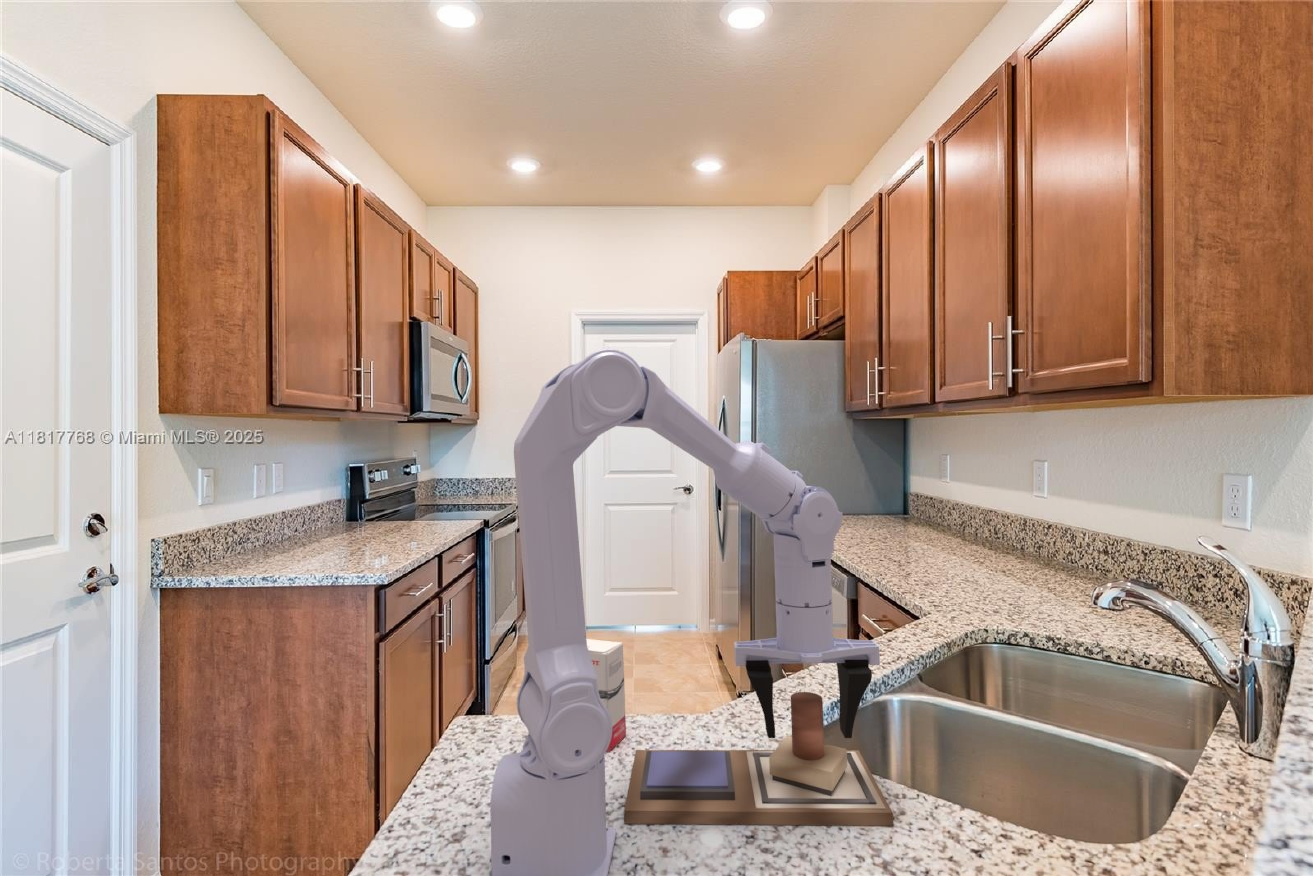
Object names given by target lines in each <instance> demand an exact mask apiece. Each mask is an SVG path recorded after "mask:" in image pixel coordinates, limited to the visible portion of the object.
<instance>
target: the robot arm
mask: <svg viewBox="0 0 1313 876" xmlns="http://www.w3.org/2000/svg"><path fill="white" fill-rule="evenodd" d="M615 427H629V428H642V429H643V428H645V429H650V430H651V431H653V432H655V434H658V435H659V436H661V437H662V438H663V439H666V441H668V442H670V443H671V444H673V445H675V446H677V447H678V448H679V449H681V450H682V451H684V452H686V453H687V454H689V455H690V456H691V457H693V458H695V459H697V461H699V462H701V463H703V464H704V465H705V466H708V467H709V468H710V469H712V471H713V474H714V481H715V485H716V487H717V488H718V490H720V491H722V492H723V493H725V494H726V495H727V496H729V497H731V498H732V499H733V500H734V501H736V502H737V503H738V504H740V505H741V506H743V507H745V508H746V509H747V510H749V511H750V512H751V513H753V514H754V515H756V517H758V518H760V519H761V523H762V525H763V527H764V529H765V530H766V532H767V533H769V534H773V558H774V559H773V561H774V562H773V563H774V584H775V587H774V589H775V594H774V595H775V618H776V619H775V620H776V621H775V623H776V624H775V625H776V637H773V638H771V637H770V638H764V639H755V640H745V641H734V642H733V647H734V648H733V650H734V651H733V653H734V655H733V657H734V663H735V666H736V667H745V669H746V674H747V676H748V679H749V681H750V683H751V686H752V687H753V689H754V692H755V695H756V697H757V699H758V702H759V704H760V707H761V710H762V713H763V717H764V723H765V732H766V734H767V735H766V736H767V738H768V739H776V726H775V718H774V717H775V715H774V704H773V703H774V699H773V696H774V694H773V692H774V677H773V674H772V667H771V666H770V664H771V665H773V664H836V668H837V669H836V670H837V678H838V686H839V687H838V689H839V690H838V691H839V709H838V710H839V711H838V712H839V713H838V715H839V716H838V717H839V719H838V720H839V728H840V729H839V730H840V732H841V733H842V735H843V737H844V739H852V737H853V730H854V724H855V721H856V716H857V713H858V710H859V706H860V704H861V701H862V699H863V696H865V692H866V691H867V689H868V687H869V686H870V683H871V682H872V677H873V671H872V669H871V668H870V667H869V665H870V666H880V664H881V663H880V662H881V661H880V660H881V659H880V646H879V645H878V643H876V641H874V640H873V639H872V640H864V639H863V640H862V639H851V638H850V639H849V638H839V637H837V638H836V637H834V619H833V618H834V616H833V615H834V613H833V586H832V561H831V559H832V556H833V554H834V553H835V546H834V545H835V538H836V536H837V535H838V533H839V531H840V529H841V526H842V523H843V512H842V511H839V507H838V504H837V502H836V500H835V499H834V497H833V496H832V494H831V493H830V492H829V491H828V490H826V489H825V488H823V487H820V486H815V485H806V482H805V481H804V480H803V477H804V475H803V474H802V473H801V472H799V471H798V470H790V469H788V468H787V467H786V466H785V465H783V463H781V462H780V461H778V459H776V458H774V457H773V456H772V455H770V453H771V451H772V450H771V448H770V447H769V446H768V445H767V444H765V443H764V442H753V441H749V440H748V441H747V440H744V441H741V442H737V443H735V442H733V441H732V440H731V439H730V438H728V437H727V436H726V434H724V433H723V432H722V431H720V429H718V428H717V427H715V426H714V424H712V422H709V420H708V419H706V418H705V417H704V416H702V415H701V414H700V413H699V412H698V411H696V410H695V409H694V408H693V407H692V406H690V405H689V404H688V403H687V402H686V401H685V400H683V399H682V398H681V397H680V396H678V395H677V394H676V393H675V392H673V390H671V388H669V387H668V386H667V385H666V383H664V381H662V379H661V378H660V377H659V376H658V375H657V373H656V372H655V371H653V370H651V369H650V368H648V367H646V366H644V365H642V366H640V365H639V364H638V362H637V361H636V360H635V359H634V358H633V357H632V356H631V355H629V354H628V353H626V352H624V351H621V350H618V349H612V348H605V349H603V348H602V349H600V350H596V351H594V352H591V354H589V355H587V356H586V357H585V358H583V359H582V360H580V361H578V362H577V363H575V364H571V365H568V366H567V367H565V368H562V369H561V371H559V372H558V373H557V374H556V375H555V376H554V377H552V379H550V380H549V381H548V382H546V383H545V384H544V385H543V386H542V387H541V389H540V393H539V396H538V398H537V400H536V402H535V404H534V405H533V408H532V409H531V411H530V413H529V415H528V417H527V418H526V420H525V421H524V424H523V425H522V427H521V429H520V431H519V432H518V435H517V436H516V438H515V440H514V445H513V459H514V460H513V461H514V471H515V472H514V476H515V487H516V488H515V489H516V498H517V499H516V501H517V510H518V511H517V512H518V515H517V516H518V524H519V539H520V553H521V564H522V578H523V591H524V602H525V603H524V605H525V616H526V631H527V642H528V645H527V648H526V652H525V653H524V657H523V664H524V666H523V667H524V673H523V679H522V681H521V684H520V686H519V689H518V692H517V697H516V710H517V713H518V716H519V718H520V721H521V722H522V723H523V724H524V725H525V727H526V729H527V731H528V734H527V736H526V738H525V741H524V742H523V745H522V749H521V750H520V751H519V752H516V753H510V754H504V755H503V756H502V757H501V758H500V760H499V762H498V763H497V765H496V770H495V772H494V775H493V776H494V777H493V781H492V787H491V793H490V807H489V808H490V849H491V851H490V852H491V853H490V854H491V855H490V857H491V859H490V861H491V862H490V863H491V876H608V875H609V871H610V867H611V861H612V856H613V851H614V847H615V843H616V838H617V837H616V836H617V828H616V827H614V826H607V808H606V807H607V806H606V805H607V804H606V802H607V800H606V764H605V762H606V761H605V757H606V756H605V754H606V753H607V752H606V751H607V749H608V746H609V744H610V741H611V737H612V720H611V716H610V714H609V712H608V710H607V708H606V707H605V705H604V704H603V702H602V700H601V698H600V695H599V692H598V682H597V676H596V672H595V669H594V666H593V663H592V660H591V657H590V654H589V651H588V647H587V640H586V639H587V630H586V629H587V628H586V618H585V605H584V604H585V603H584V590H583V589H584V588H583V577H582V565H581V554H580V553H581V552H580V537H579V527H578V525H579V524H578V513H577V502H576V501H577V500H576V487H575V475H574V464H575V462H576V461H577V460H578V458H580V456H581V455H583V453H584V452H585V451H586V450H587V449H588V448H589V447H590V446H591V445H592V444H593V443H594V442H595V441H596V440H597V438H598V437H600V436H601V435H602V434H605V433H606V432H608V431H609V430H611V429H613V428H615Z"/></svg>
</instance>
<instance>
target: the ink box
mask: <svg viewBox="0 0 1313 876" xmlns="http://www.w3.org/2000/svg"><path fill="white" fill-rule="evenodd" d="M586 640H587V647H588V651H589V654H590V657H591V660H592V663H593V666H594V669H595V672H596V676H597V682H598V692H599V695H600V698H601V700H602V702H603V704H604V705H605V707H606V708H607V710H608V712H609V714H610V716H611V720H612V737H611V741H610V744H609V746H608V749H607V751H606V752H605V753H610V752H611V751H612V750H613V749H614V748H615V747H616V746H617V745H618V744H620V743H621V741H622V740H624V739H625V737H626V736H627V728H626V725H627V723H626V722H627V721H626V698H625V697H626V693H625V692H626V691H625V690H626V689H625V670H624V669H625V667H624V665H625V663H624V661H625V660H624V643H623V642H622V641H620V642H619V641H609V640H602V639H601V640H599V639H593V638H592V639H590V638H586Z"/></svg>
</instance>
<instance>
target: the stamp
mask: <svg viewBox="0 0 1313 876" xmlns="http://www.w3.org/2000/svg"><path fill="white" fill-rule="evenodd" d="M823 703H824V702H823V697H822V696H821V695H819V694H818V693H815V692H810V691H798V692H793V693H792V694H791V696H790V715H791V719H790V720H791V721H790V722H791V735H787V736H786V737H785V738H784V739H783V740H782V742H780V743H779V745H778V746H777V747H776V748H775V749H774V750H775V751H774V752H773V753H772V754H771V755H770V756H769V766H770V775H772V778H773V780H774V781H778V782H782V783H785V784H789V785H793V786H797V787H800V788H804V789H808V790H811V791H815V792H819V793H822V794H826V795H830V796H831V795H832V793H833V792H834V790H835V788H836V787H837V785H838V783H839V782H840V780H841V779H842V777H843V775H844V774H845V769H846V768H847V748H846V747H845V748H843V747H840V746H836V745H831V744H827V743H825V738H824V737H825V735H824V731H825V730H824V708H823V707H824V705H823Z"/></svg>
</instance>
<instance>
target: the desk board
mask: <svg viewBox="0 0 1313 876" xmlns="http://www.w3.org/2000/svg"><path fill="white" fill-rule="evenodd" d="M774 751H775V749H773V750H771V749H770V750H769V749H767V750H766V749H759V750H758V749H757V750H756V749H754V750H753V749H747V750H746V749H636V750H635V754H634V757H633V759H634V760H633V763H632V768H631V774H630V778H629V783H628V789H627V792H626V793H627V794H626V799H625V804H624V808H623V823H624V825H625V824H627V825H628V824H629V825H630V824H633V825H634V824H637V825H639V824H640V825H641V824H642V825H643V824H646V825H647V824H648V825H649V824H650V825H654V824H655V825H656V824H657V825H661V824H662V825H737V826H738V825H749V826H750V825H754V826H755V825H756V826H758V825H759V826H763V825H764V826H853V827H854V826H856V827H857V826H858V827H859V826H861V827H862V826H864V827H865V826H866V827H867V826H868V827H870V826H871V827H872V826H873V827H874V826H875V827H877V826H880V827H894V812H893V810H892V809H891V807H890V805H889V803H888V802H887V800H886V799H887V798H886V797H885V796H884V794H883V792H882V790H881V789H880V787H879V785H878V784H877V782H876V780H875V778H874V776H873V774H872V773H871V770H870V769H869V767H868V765H867V763H866V761H865V759H864V758H863V756H862V754H861V753H860V750H854V749H853V750H847V768H846V769H845V774H844V775H843V777H842V779H841V780H840V782H839V783H838V785H837V787H836V788H835V790H834V792H833V793H832V795H831V796H830V795H826V794H822V793H819V792H815V791H811V790H808V789H804V788H800V787H797V786H793V785H789V784H785V783H782V782H778V781H774V780H773V778H772V775H770V766H769V756H770V755H771V754H772V753H773V752H774Z"/></svg>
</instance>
